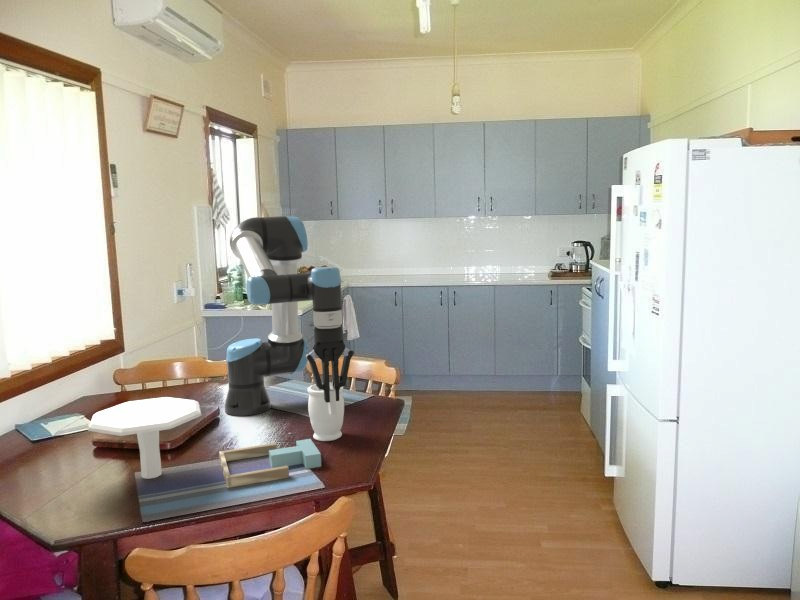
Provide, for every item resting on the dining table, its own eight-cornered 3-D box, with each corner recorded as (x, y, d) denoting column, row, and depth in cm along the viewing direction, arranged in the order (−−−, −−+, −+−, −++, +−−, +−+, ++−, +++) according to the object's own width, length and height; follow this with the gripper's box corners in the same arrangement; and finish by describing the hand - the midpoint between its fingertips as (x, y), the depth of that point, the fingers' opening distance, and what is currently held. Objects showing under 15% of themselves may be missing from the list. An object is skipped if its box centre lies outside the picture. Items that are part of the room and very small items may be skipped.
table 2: (123, 455, 176) (117, 396, 174) (223, 453, 175) (218, 394, 173) (67, 500, 149) (60, 431, 146) (186, 498, 148) (180, 429, 146)
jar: (339, 443, 180) (337, 392, 178) (304, 442, 182) (301, 391, 180) (349, 431, 190) (347, 382, 188) (316, 429, 192) (314, 381, 190)
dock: (219, 460, 170) (219, 451, 170) (276, 451, 175) (275, 442, 175) (226, 488, 153) (226, 478, 152) (289, 477, 158) (288, 467, 158)
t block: (267, 457, 171) (266, 445, 171) (311, 450, 175) (310, 438, 175) (274, 474, 160) (273, 461, 160) (321, 466, 164) (320, 453, 164)
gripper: (306, 330, 161) (311, 420, 164) (356, 325, 166) (360, 413, 168) (300, 326, 168) (305, 413, 171) (348, 321, 172) (352, 406, 175)
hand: (332, 413), depth 170 cm, fingers closed
